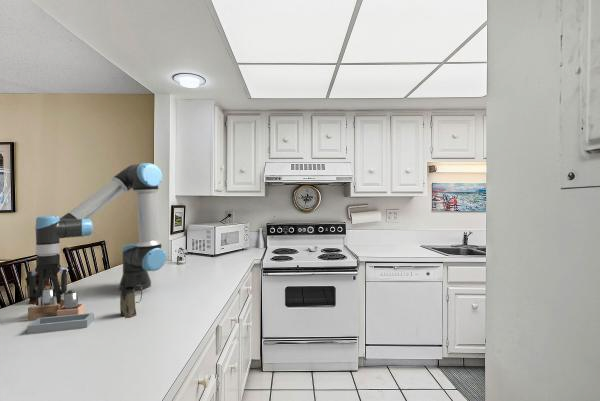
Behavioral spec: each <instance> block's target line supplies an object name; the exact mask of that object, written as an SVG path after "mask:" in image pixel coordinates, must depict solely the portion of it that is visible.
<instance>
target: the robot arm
mask: <svg viewBox="0 0 600 401" xmlns="http://www.w3.org/2000/svg"><path fill="white" fill-rule="evenodd" d="M162 181H163V172H162V171H161V169H160V168H159V167H158V166H157V164H154V163H152V162H151V163H148V162H143V163H138V164H131V165H129V166H127V167H125V168H124V169H122V170H121V171H120V172H118V173H117V174H116V175H114V176H113V177H112V178H111V181H110V182H108V183H107V184H106V185H104V186H103V187H101V188H100V189H98V190H97V191H96V192H95V193H93V194H92V195H90V196H89V197H88V198H86V199H85V200H84V201H82V202H81V203H79V204H78V205H77V206H75V207H74V208H73V209H71V210H70V211H69V212H67V213H66V214H64V215H63V216H61V217H60V216H59V215H39V216H38V217H36V218H35V219H36V220H35V228H34V229H35V254H36V257H35V268H34V269H32V270H29V271H27V272H26V274H27V276H28V277H29V291H30V296H31V297H32V296H33V297H35V298H36V303H35V305H36V306H38V305H39V306H42V296H41V295H42V289H43V287H44V283H45V279H46V278H49V279H50V280H51V282H52V283H51V284H52V286H53V287H54V290H55V294H56V295H55V296H54V305H55V304H59V303H61V299H62V295H64V293H66V292H68V273H69V268H64V267H62V266H61V263H60V262H61V257H60V256H61V254H59V253H60V252H61V251H60V250H61V248H60V240H61V239H67V238H80V237H81V238H83V237H89V236H91V235H92V233H93V231H94V224H93V221H92V220H91V219H90V218H92V217H93V216H94V215H96V214H97V213H99V211H101V210H102V209H103V208H105V207H106V206H107V205H108V204H110V203H111V202H113V201H114V200H115V199H116V198H118V197H119V196H120V195H122V194H123V193H124V194H127V193H128V192H129V191H130V190H132V191H133V192H134V193H135V194H136V205H137V223H138V224H137V225H138V238H139V239H138V242H137V243H135V244H134V243H133V244H125V245H123V247H122V251H121V252H122V275H121V278H120V282H119V286H118V287H119V288H118V289H119V290H120V291H121V289H122V288H125V287H135V291H139V290H140V291H141V287H140V286H136V285H141V286H142V290H144V289H147V288H148V289H149V287H151V286H152V280H151V278H150V275H149V272H156V271H159V270H160V269H162V268H163V266H164V265H165V264H166V261H167V253H166V251H164V249H163V248H162V242H161V241H160V240H159V238H158V237H159V235H158V220H157V218H158V217H157V198H156V197H157V196H156V194H157V192H158V191H159V185H160V183H161V182H162ZM59 272H60V274H61V275H60V280H59V276H58V273H59ZM36 273H37V274H38V275H39V276H40V277H39V283H38V287H37V291H36V276H35V275H36Z"/></svg>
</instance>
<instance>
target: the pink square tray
mask: <svg viewBox="0 0 600 401" xmlns="http://www.w3.org/2000/svg"><path fill="white" fill-rule="evenodd" d="M85 308H86V306H85V303H78V308H77V309H67V310H64V306H63V307H61V308H60V309H59V310H57V316H65V315H75V314H85V313H86V310H85Z"/></svg>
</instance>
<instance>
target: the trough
mask: <svg viewBox="0 0 600 401" xmlns="http://www.w3.org/2000/svg"><path fill="white" fill-rule="evenodd" d="M94 321H95V312H87V313H86V312H85V314H75V315H65V316H54V317H44V318H38V319H36V320H34V321H31V323H29V324H28V325H27V326H26V328H27V329H26V330H27V335H31V334H32V335H33V334H41V333H49V332H58V331H67V330H77V329H78V330H79V329H87V328H88V327H89V326H90V325H91V324H92V323H93V322H94Z"/></svg>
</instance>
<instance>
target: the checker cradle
mask: <svg viewBox="0 0 600 401" xmlns="http://www.w3.org/2000/svg"><path fill="white" fill-rule="evenodd" d="M63 306H64V298H61V303H59V304H55V305H44V306H39V305H38V306H35V305H34V306H32V305H31V306H29V307H27V319H26V320H25V321H26V322H34V321H35V320H36V319H38V318H44V317H54V316H57V310H59V309H60V308H61V307H63Z"/></svg>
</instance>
